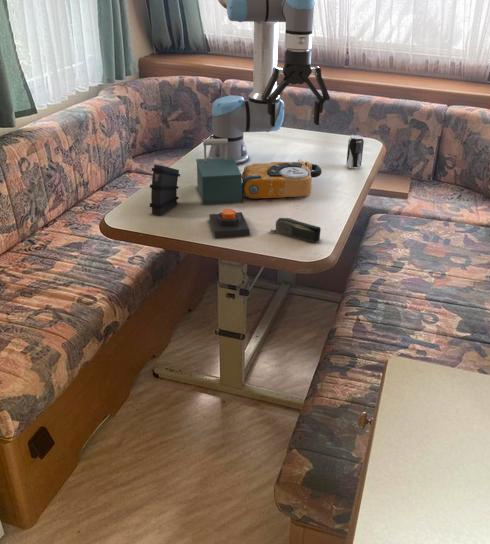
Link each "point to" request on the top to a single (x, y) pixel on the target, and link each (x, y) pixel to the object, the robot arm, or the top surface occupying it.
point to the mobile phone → (297, 229)
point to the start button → (228, 214)
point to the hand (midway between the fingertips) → (294, 124)
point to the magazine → (163, 189)
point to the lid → (217, 163)
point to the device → (278, 179)
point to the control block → (228, 226)
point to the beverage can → (355, 151)
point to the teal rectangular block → (219, 189)
